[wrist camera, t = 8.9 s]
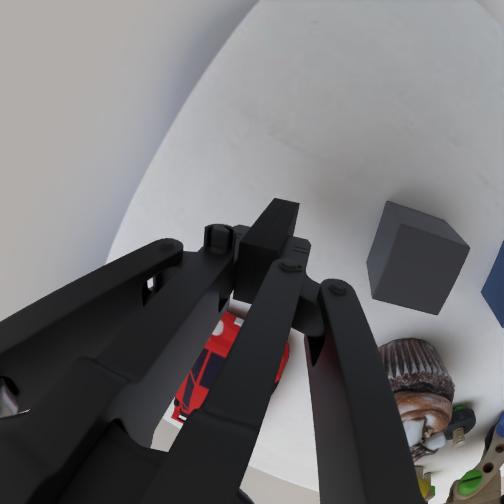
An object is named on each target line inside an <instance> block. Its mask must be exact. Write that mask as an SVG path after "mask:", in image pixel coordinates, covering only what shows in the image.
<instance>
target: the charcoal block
mask: <svg viewBox="0 0 504 504" xmlns="http://www.w3.org/2000/svg"><path fill="white" fill-rule="evenodd" d="M469 250H470V247H469V246H468V245H467V243H466V242H465V241H464V240H463V239H462V238H461V237H460V236H459V235H458V234H457V233H456V232H455V231H454V230H453V228H452V227H451V226H450V225H449V224H448V223H447V222H446V221H445V220H442V219H439V218H436V217H434V216H431V215H428V214H425V213H422V212H419V211H416V210H414V209H411V208H408V207H404V206H401V205H398V204H395V203H392V202H389V201H387V202H386V204H385V208H384V211H383V214H382V218H381V221H380V224H379V227H378V230H377V233H376V236H375V239H374V242H373V245H372V248H371V251H370V254H369V257H368V259H367V269H368V275H369V281H370V288H371V295H372V299H375V300H379V301H383V302H387V303H391V304H395V305H398V306H402V307H406V308H410V309H414V310H418V311H422V312H426V313H430V314H434V315H438V314H439V312H440V310H441V308H442V307H443V305H444V303H445V301H446V299H447V297H448V295H449V293H450V291H451V289H452V287H453V285H454V283H455V281H456V279H457V277H458V275H459V273H460V270H461V268H462V266H463V264H464V262H465V259H466V257H467V255H468V252H469Z"/></svg>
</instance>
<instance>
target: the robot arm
mask: <svg viewBox="0 0 504 504" xmlns="http://www.w3.org/2000/svg"><path fill="white" fill-rule="evenodd" d="M299 204H300V203H296V202H291V201H287V200H282V199H278V198H274V199H273V200H272V202H271V203H270V204H269V205H268V207H267V208H266V209H265V210H264V212H263V213H262V214H261V215H260V217H259V218H258V219H257V220H256V222H255V223H254V224H253V225H252V227H248V226H244V225H237V226H234V227H232V226H229V225H224V224H211V225H208V226H206V227H205V232H204V246H203V247H202V248H201V249H200V250H199V251H198V252H189V251H183V244H182V242H180V241H178V240H175V239H172V238H165V239H160V240H157V241H154V242H152V243H150V244H148V245H146V246H144V247H141V248H139V249H137V250H135V251H133V252H131V253H129V254H127V255H125V256H123V257H121V258H119V259H117V260H115V261H113V262H111V263H108V264H106V265H104V266H102V267H101V268H98V269H97V270H95V271H93V272H91V273H89V274H87V275H85V276H83V277H81V278H79V279H77V280H75V281H74V282H71V283H69V284H67V285H66V286H64V287H62V288H60V289H58V290H56V291H54V292H52V293H51V294H49V295H47V296H45V297H43V298H41V299H40V300H38V301H36V302H34V303H33V304H31V305H29V306H27V307H25V308H23V309H22V310H20V311H18V312H17V313H15V314H13V315H11V316H9V317H8V318H6V319H4V320H3V321H1V322H0V504H254V502H253V501H252V500H251V499H250V498H249V497H248V495H247V494H245V493H244V492H243V491H242V490H241V489H240V488H239V487H240V484H241V482H242V479H243V477H244V474H245V471H246V469H247V466H248V463H249V460H250V458H251V455H252V452H253V449H254V446H255V443H256V441H257V438H258V435H259V432H260V428H261V425H262V422H263V419H264V416H265V413H266V410H267V407H268V403H269V400H270V397H271V394H272V391H273V387H274V384H275V381H276V378H277V374H278V371H279V368H280V364H281V361H282V357H283V354H284V351H285V347H286V344H287V340H288V336H289V333H290V329H291V327H292V328H294V329H296V330H297V331H299V332H301V333H303V334H305V335H304V344H305V352H306V360H307V368H308V376H309V385H310V393H311V402H312V411H313V421H314V431H315V442H316V453H317V465H318V478H319V492H320V504H427V502H426V501H425V499H424V497H423V496H422V494H421V492H420V488H419V483H418V479H417V474H416V470H415V466H414V462H413V458H412V454H411V451H410V447H409V443H408V440H407V436H406V432H405V429H404V426H403V422H402V419H401V416H400V412H399V409H398V406H397V403H396V400H395V396H394V393H393V390H392V387H391V384H390V381H389V378H388V376H387V373H386V370H385V367H384V364H383V361H382V359H381V356H380V353H379V350H378V348H377V345H376V342H375V340H374V337H373V334H372V332H371V329H370V327H369V324H368V322H367V319H366V317H365V314H364V312H363V309H362V307H361V304H360V302H359V300H358V297H357V295H356V292H355V290H354V289H353V287H352V286H351V285H349V284H348V283H347V282H345V281H342V280H338V279H326V280H324V281H323V282H322V283H321V284H319V283H317V282H315V281H313V280H312V279H311V278H309V277H308V275H307V274H306V266H307V262H308V257H309V253H310V249H311V244H310V242H309V241H308V240H307V239H303V238H298V237H294V236H293V234H294V229H295V224H296V219H297V214H298V209H299ZM152 277H153V287H151V288H148V285H147V280H149V279H151V278H152ZM233 290H234V293H233V299H235V300H238V301H242V302H245V303H249V304H252V305H251V307H250V309H249V311H248V313H247V316H246V318H245V320H244V322H243V324H242V326H241V328H240V330H239V332H238V334H237V336H236V338H235V340H234V342H233V344H232V346H231V348H230V350H229V352H228V354H227V356H226V358H225V360H224V362H223V364H222V366H221V368H220V370H219V372H218V374H217V375H216V377H215V379H214V381H213V383H212V385H211V387H210V389H209V391H208V393H207V395H206V397H205V399H204V401H203V403H202V404H201V406H200V407H199V408H197V409H193V410H192V412H191V413H190V414H189V416H188V417H187V419H186V420H185V422H184V424H183V426H182V428H181V430H180V431H179V433H178V435H177V437H176V439H175V441H174V442H173V444H172V446H171V448H170V450H169V452H164V451H160V450H155V449H151V448H150V447H151V444H152V439H153V434H154V431H155V429H156V427H157V425H158V424H159V422H160V420H161V419H162V417H163V415H164V414H165V412H166V410H167V409H168V407H169V405H170V404H171V402H172V400H173V399H174V397H175V395H176V394H177V392H178V390H179V389H180V387H181V385H182V384H183V382H184V380H185V379H186V377H187V375H188V374H189V372H190V370H191V368H192V367H193V365H194V363H195V362H196V360H197V358H198V357H199V355H200V353H201V352H202V350H203V348H204V347H205V345H206V343H207V341H208V340H209V338H210V336H211V335H212V333H213V331H214V330H215V328H216V326H217V325H218V323H219V321H220V319H221V318H222V316H223V314H224V313H225V311H226V309H227V308H228V306H229V302H230V295H231V293H232V291H233ZM29 409H30V410H29ZM26 410H29V411H28V412H24V413H20V412H23V411H26ZM19 413H20V414H19Z"/></svg>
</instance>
